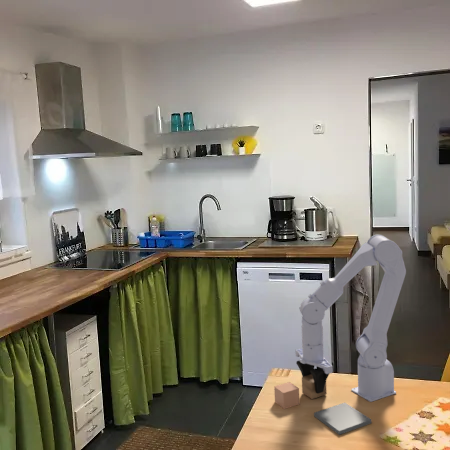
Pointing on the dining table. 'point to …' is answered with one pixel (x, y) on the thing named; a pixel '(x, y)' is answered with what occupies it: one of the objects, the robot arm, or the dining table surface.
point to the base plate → (342, 418)
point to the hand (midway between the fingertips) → (314, 388)
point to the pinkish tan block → (286, 395)
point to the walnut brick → (311, 387)
